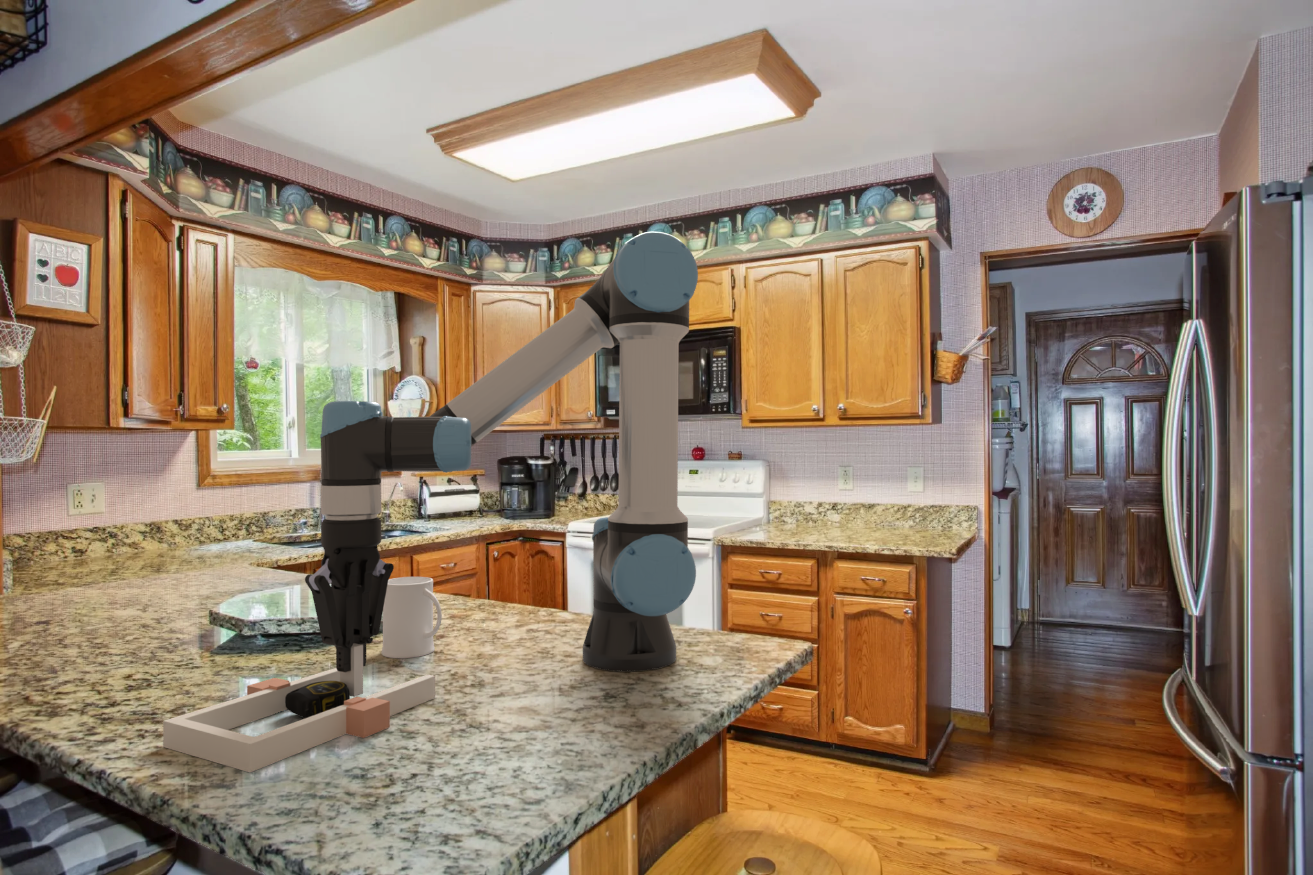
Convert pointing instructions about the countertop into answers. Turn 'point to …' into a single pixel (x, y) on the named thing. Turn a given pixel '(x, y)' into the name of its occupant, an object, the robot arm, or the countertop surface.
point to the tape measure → (317, 698)
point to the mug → (409, 617)
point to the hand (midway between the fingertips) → (351, 693)
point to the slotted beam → (356, 717)
